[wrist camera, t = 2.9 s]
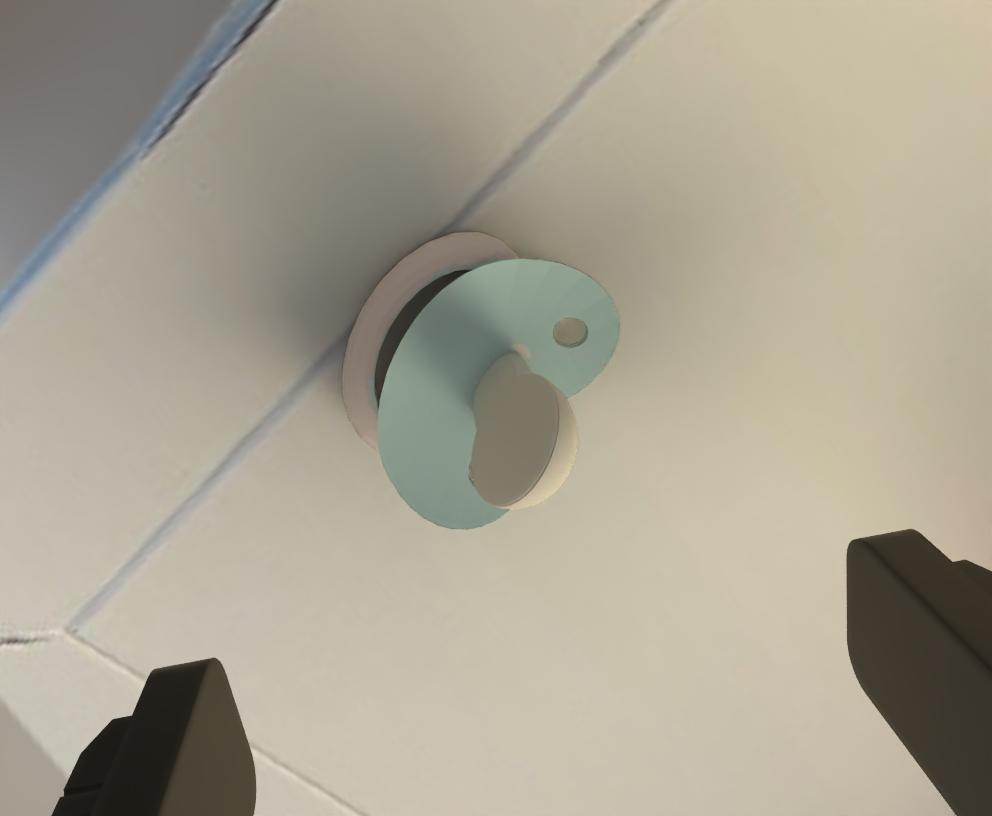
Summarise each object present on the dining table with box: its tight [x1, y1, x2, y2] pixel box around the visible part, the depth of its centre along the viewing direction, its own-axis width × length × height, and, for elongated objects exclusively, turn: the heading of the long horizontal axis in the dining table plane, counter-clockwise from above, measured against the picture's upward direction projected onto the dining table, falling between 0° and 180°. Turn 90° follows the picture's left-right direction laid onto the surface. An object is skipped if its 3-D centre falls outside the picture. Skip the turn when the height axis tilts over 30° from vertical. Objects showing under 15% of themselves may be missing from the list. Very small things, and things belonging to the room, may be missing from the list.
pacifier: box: [342, 232, 620, 529], centre depth 21 cm, size 7×6×6 cm
